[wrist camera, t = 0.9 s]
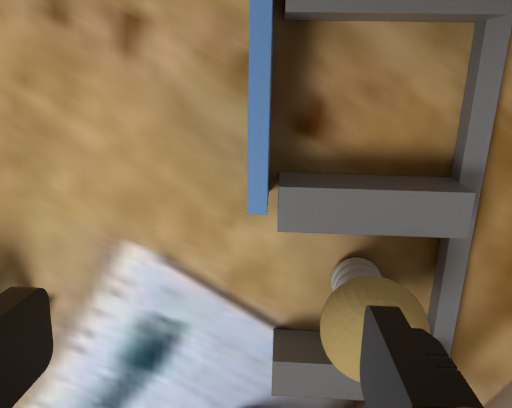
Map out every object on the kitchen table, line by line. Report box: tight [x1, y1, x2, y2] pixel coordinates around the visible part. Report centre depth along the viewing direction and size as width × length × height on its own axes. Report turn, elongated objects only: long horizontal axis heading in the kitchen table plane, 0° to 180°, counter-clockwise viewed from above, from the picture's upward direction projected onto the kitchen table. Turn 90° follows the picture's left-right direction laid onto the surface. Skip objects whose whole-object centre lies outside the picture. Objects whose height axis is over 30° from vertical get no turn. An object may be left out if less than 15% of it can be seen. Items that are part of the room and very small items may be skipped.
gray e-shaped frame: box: [247, 0, 512, 401], centre depth 28 cm, size 29×15×5 cm, turn 179°
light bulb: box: [320, 257, 430, 382], centre depth 28 cm, size 6×6×10 cm
